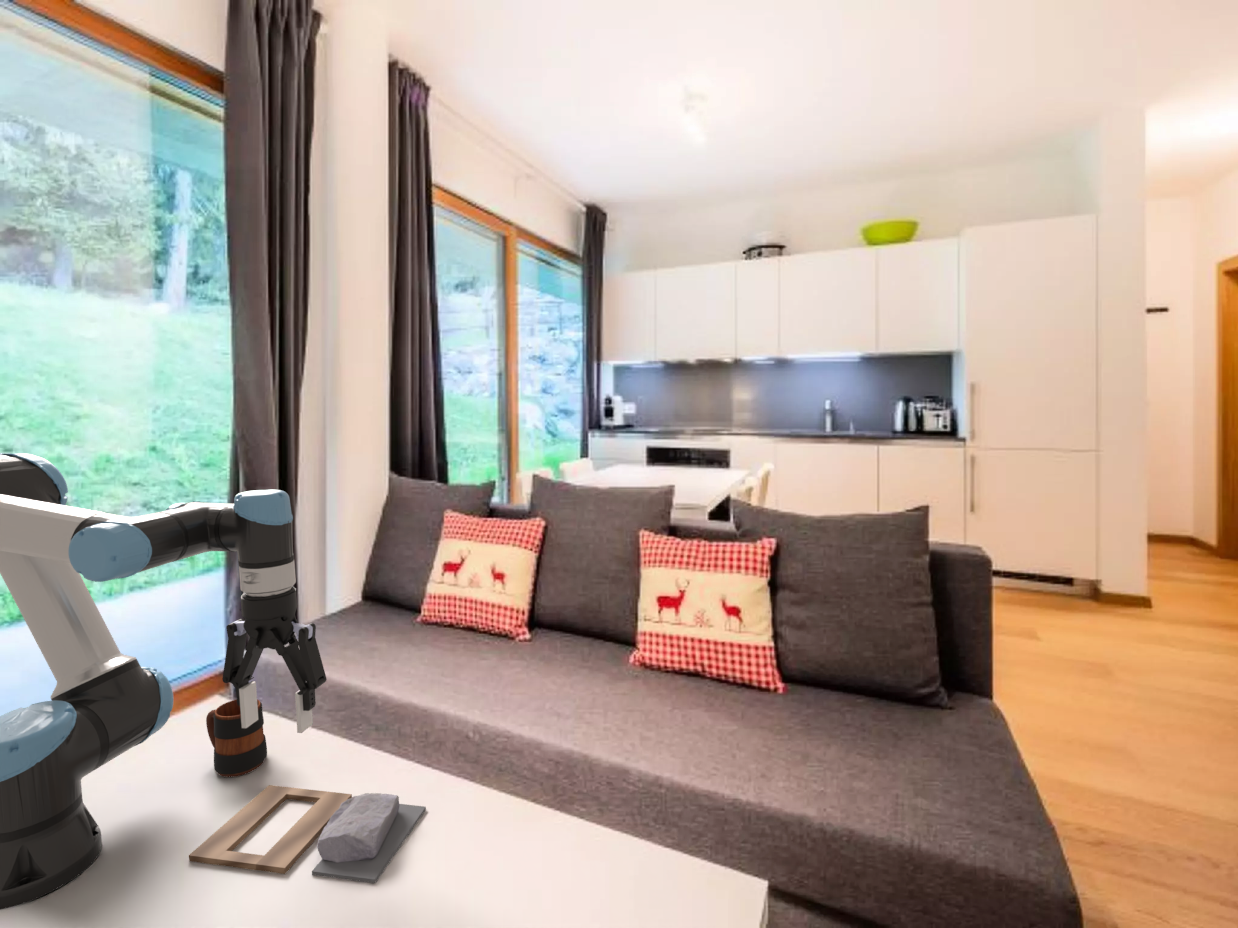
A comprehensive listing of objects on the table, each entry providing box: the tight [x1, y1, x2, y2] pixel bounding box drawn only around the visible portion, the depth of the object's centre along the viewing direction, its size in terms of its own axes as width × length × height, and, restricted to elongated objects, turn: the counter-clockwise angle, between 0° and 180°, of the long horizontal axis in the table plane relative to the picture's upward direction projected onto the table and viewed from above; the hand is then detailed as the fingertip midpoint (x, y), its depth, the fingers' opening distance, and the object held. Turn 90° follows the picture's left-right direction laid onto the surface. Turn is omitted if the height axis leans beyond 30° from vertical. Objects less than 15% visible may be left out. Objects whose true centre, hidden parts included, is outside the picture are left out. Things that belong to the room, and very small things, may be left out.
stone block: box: [317, 792, 400, 863], centre depth 97 cm, size 12×5×10 cm
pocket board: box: [188, 784, 353, 875], centre depth 99 cm, size 16×17×1 cm
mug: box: [205, 698, 268, 778], centre depth 116 cm, size 9×12×12 cm
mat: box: [311, 803, 427, 884], centre depth 96 cm, size 10×16×1 cm, turn 172°
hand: (277, 725), depth 97 cm, fingers open, 9 cm apart
